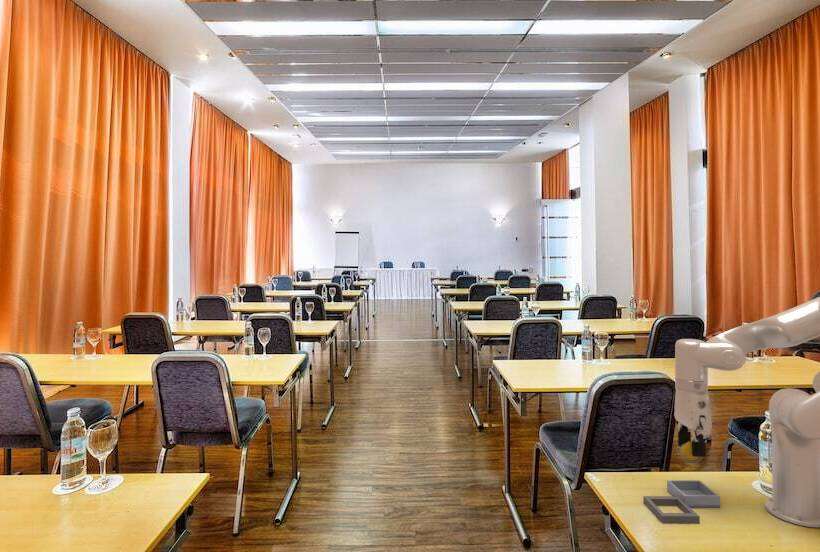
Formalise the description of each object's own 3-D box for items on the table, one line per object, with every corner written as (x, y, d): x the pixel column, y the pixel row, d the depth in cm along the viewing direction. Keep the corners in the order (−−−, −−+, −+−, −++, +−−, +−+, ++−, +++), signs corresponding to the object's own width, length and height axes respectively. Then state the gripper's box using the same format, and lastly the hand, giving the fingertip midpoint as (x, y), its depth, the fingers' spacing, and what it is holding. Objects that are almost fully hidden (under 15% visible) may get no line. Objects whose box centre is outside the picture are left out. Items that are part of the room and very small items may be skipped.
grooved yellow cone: (707, 463, 124) (706, 446, 118) (688, 470, 125) (685, 454, 119) (695, 445, 128) (692, 428, 122) (676, 452, 129) (673, 436, 123)
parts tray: (699, 491, 128) (699, 480, 128) (720, 507, 119) (719, 496, 119) (667, 491, 129) (666, 480, 129) (684, 507, 120) (684, 496, 120)
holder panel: (677, 502, 122) (677, 496, 122) (699, 523, 112) (699, 516, 112) (643, 502, 123) (643, 496, 123) (662, 523, 113) (662, 516, 113)
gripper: (726, 393, 115) (726, 464, 115) (687, 377, 132) (687, 439, 132) (695, 393, 115) (695, 464, 116) (661, 377, 133) (661, 439, 133)
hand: (691, 450), depth 124 cm, fingers closed on grooved yellow cone, 6 cm apart
